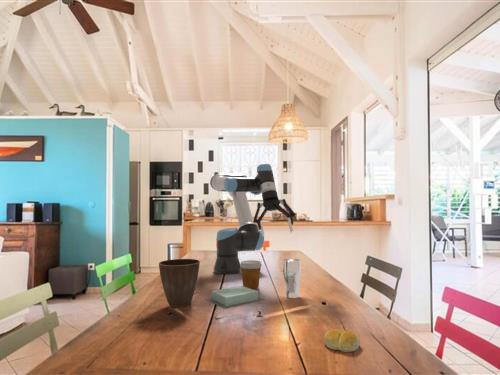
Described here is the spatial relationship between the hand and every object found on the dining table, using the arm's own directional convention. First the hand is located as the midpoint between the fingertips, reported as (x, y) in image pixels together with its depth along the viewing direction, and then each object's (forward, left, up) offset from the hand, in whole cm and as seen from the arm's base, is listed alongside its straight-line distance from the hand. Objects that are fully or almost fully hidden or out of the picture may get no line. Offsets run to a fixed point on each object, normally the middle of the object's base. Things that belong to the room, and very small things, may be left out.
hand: (277, 233), depth 161 cm
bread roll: (+63, -30, -24) cm, 74 cm away
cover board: (+13, -32, -22) cm, 41 cm away
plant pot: (+5, -51, -23) cm, 56 cm away
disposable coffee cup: (+2, -17, -23) cm, 29 cm away
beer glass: (+22, -11, -23) cm, 34 cm away
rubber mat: (+13, -32, -23) cm, 42 cm away
